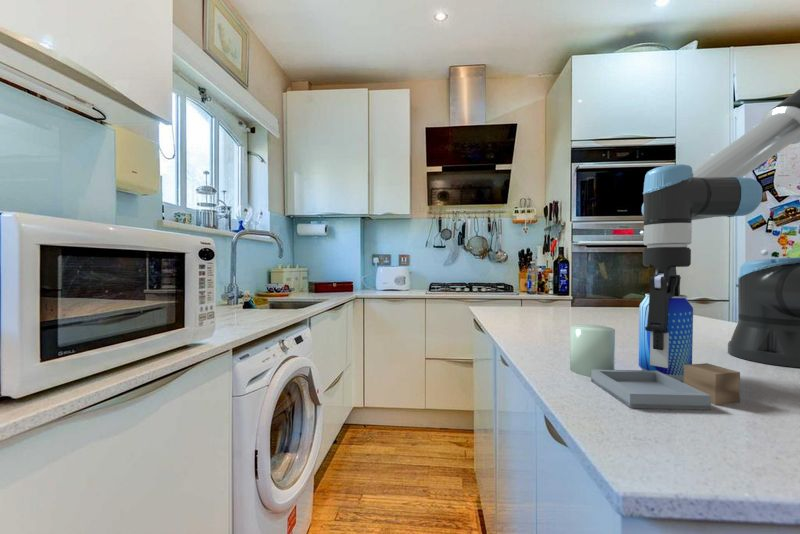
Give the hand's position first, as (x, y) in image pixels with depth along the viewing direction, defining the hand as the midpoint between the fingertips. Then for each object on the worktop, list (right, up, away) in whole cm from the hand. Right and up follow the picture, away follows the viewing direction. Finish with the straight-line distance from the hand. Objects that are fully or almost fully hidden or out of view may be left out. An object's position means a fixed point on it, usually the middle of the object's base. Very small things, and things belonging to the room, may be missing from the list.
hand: (664, 361), depth 69 cm
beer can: (0, -3, 0) cm, 3 cm away
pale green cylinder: (-13, -3, +3) cm, 14 cm away
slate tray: (-11, -3, -9) cm, 14 cm away
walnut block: (-1, -3, -11) cm, 11 cm away
